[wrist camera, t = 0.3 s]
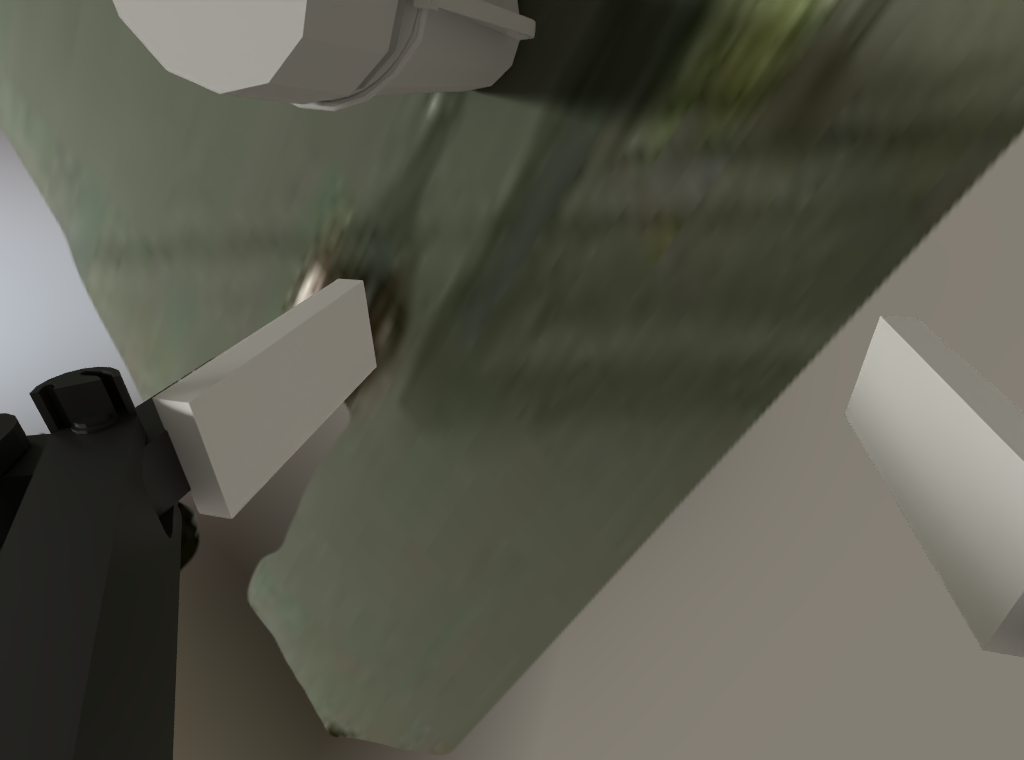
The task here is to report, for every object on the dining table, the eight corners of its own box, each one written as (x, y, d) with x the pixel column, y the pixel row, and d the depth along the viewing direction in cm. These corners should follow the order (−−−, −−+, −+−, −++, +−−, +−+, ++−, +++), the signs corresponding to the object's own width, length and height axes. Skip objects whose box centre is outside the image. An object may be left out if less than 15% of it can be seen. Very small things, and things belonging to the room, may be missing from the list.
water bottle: (418, 91, 37) (113, 101, 16) (419, -51, 33) (14, -286, 12) (546, 106, 36) (397, 139, 15) (562, -39, 32) (391, -281, 11)
